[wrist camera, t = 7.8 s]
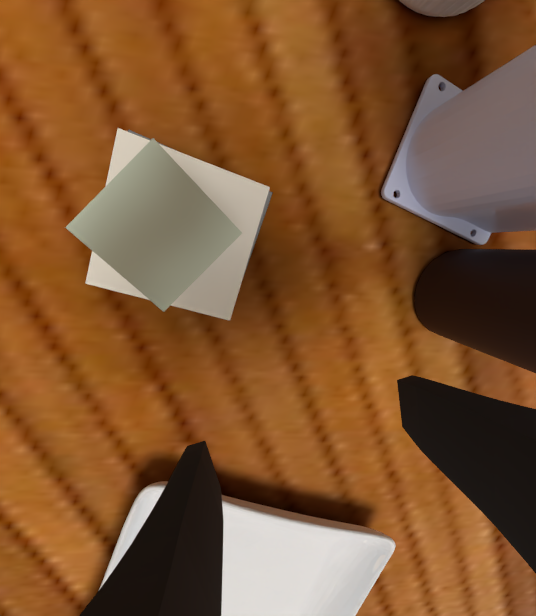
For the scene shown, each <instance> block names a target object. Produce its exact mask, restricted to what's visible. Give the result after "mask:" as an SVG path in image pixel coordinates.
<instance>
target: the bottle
mask: <svg viewBox="0 0 536 616" xmlns="http://www.w3.org/2000/svg"><path fill="white" fill-rule="evenodd" d="M415 310H416V312H417V315H418V317H419V320H420V321H421V322H422V323H423V324H424V326H425V327H426V328H427V329H428V330H430V331H432V332H434V333H436V334H438V335H440V336H443V337H446V338H448V339H451V340H453V341H456V342H458V343H461V344H463V345H466V346H468V347H471V348H473V349H476V350H478V351H481V352H483V353H486V354H488V355H491V356H494V357H496V358H499V359H501V360H504V361H506V362H509V363H511V364H514V365H516V366H519V367H521V368H524V369H526V370H529V371H531V372H534V373H536V250H505V249H459V250H455V251H450V252H446V253H444V254H443V255H441V256H439V257H438V258H436V259H434V260H433V261H432V262H431V263H430V264H429V266H428V267H427V268H426V269H425V270H424V272H423V274H422V275H421V277H420V279H419V281H418V283H417V288H416V292H415Z"/></svg>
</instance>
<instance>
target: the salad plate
mask: <svg viewBox="0 0 536 616" xmlns="http://www.w3.org/2000/svg"><path fill="white" fill-rule="evenodd" d="M167 483H168V481H161V482H156V483H153V484H150V485H148V486H147V487H145V488H144V489H143V490H142V491H141V492H140V493H139V494H138V496H137V498H136V499H135V501H134V503H133V505H132V507H131V510H130V512H129V514H128V516H127V518H126V521H125V523H124V526H123V528H122V531H121V534H120V536H119V539H118V541H117V544H116V547H115V549H114V552H113V555H112V557H111V560H110V563H109V565H108V568H107V571H106V573H105V576H104V578H103V581H102V584H101V586H100V588H101V587H102V586H103V584H104V583H105V581H106V580H107V579H108V577H109V576H110V574H111V573H112V572H113V570H114V569H115V567H116V566H117V565H118V563H119V562H120V560H121V559H122V557H123V556H124V554H125V553H126V551H127V550H128V548H129V547H130V545H131V544H132V542H133V540H134V539H135V537H136V536H137V534H138V532H139V531H140V529H141V527H142V526H143V524H144V523H145V521H146V519H147V518H148V516H149V514H150V513H151V511H152V509H153V508H154V506H155V504H156V502H157V501H158V499H159V497H160V495H161V494H162V492H163V490H164V488H165V486H166V485H167ZM222 507H223V521H224V523H223V569H222V608H221V616H355V615H356V613H357V612H358V610H359V608H360V607H361V605H362V603H363V602H364V600H365V599H366V597H367V595H368V594H369V592H370V590H371V588H372V587H373V585H374V584H375V582H376V580H377V578H378V577H379V575H380V573H381V572H382V570H383V568H384V567H385V565H386V563H387V562H388V560H389V558H390V557H391V555H392V553H393V551H394V549H395V546H396V545H395V542H394V541H393V540H392V539H391V538H390V537H389V536H387V535H385V534H383V533H381V532H379V531H376V530H374V529H371V528H367V527H363V526H359V525H354V524H349V523H343V522H338V521H332V520H327V519H322V518H317V517H312V516H307V515H303V514H298V513H294V512H290V511H285V510H281V509H277V508H272V507H268V506H264V505H260V504H256V503H252V502H248V501H244V500H240V499H236V498H232V497H228V496H224V495H222ZM100 588H99V590H100Z"/></svg>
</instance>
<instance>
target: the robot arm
mask: <svg viewBox="0 0 536 616" xmlns="http://www.w3.org/2000/svg"><path fill="white" fill-rule="evenodd" d="M438 86H440V88H441V91H440V90H439V88H438ZM394 191H395V192H396V194H397V196H396V198H395V197H394V196H393V193H394ZM381 195H382V197H383V198H384V199H385V200H387V201H389V202H391V203H393V204H395V205H397V206H399V207H401V208H403V209H405V210H407V211H409V212H411V213H413V214H415V215H418V216H420V217H422V218H424V219H426V220H428V221H430V222H432V223H434V224H436V225H438V226H440V227H442V228H444V229H446V230H448V231H450V232H452V233H454V234H456V235H458V236H460V237H462V238H464V239H466V240H468V241H470V242H472V243H474V244H477V245H483V244H485V243H486V242H487V241H488V239H489V237H490V235H491V233H494V232H513V231H532V230H536V45H535V46H533V47H532V48H530V49H528V50H527V51H525V52H524V53H522V54H520V55H519V56H517V57H516V58H514V59H513V60H511V61H509V62H508V63H506V64H505V65H503V66H502V67H500V68H498V69H497V70H495V71H494V72H492V73H491V74H489V75H487V76H486V77H484V78H483V79H481V80H480V81H478V82H476V83H475V84H473V85H472V86H470V87H469V88H467V89H465V90H464V91H462V90H461V89H459V88H458V87H456V86H455V85H453V84H452V83H450V82H449V81H447V80H446V79H444V78H443V77H441V76H440V75H438V74H433V75H432V76H431V77H429V78H428V79H427V81H426V83H425V85H424V88H423V90H422V92H421V95H420V97H419V100H418V102H417V105H416V107H415V109H414V112H413V114H412V117H411V119H410V122H409V124H408V126H407V129H406V131H405V134H404V136H403V139H402V141H401V143H400V146H399V148H398V151H397V153H396V156H395V158H394V160H393V163H392V165H391V168H390V170H389V173H388V175H387V177H386V180H385V182H384V185H383V187H382V190H381ZM471 231H472V234H470V233H471ZM397 383H398V392H399V401H400V409H401V418H402V427H403V428H404V429H405V431H406V432H407V433H408V435H409V436H410V437H411V438H412V440H413V441H414V442H415V443H416V445H417V446H418V447H419V448H420V450H421V451H422V452H423V453H424V454H425V455H426V456H427V457H428V458H429V459H430V460H431V461H432V462H433V463H434V464H435V465H436V466H437V467H438V468H439V469H440V470H441V471H442V472H443V473H444V474H445V475H446V476H447V477H448V478H449V479H450V480H451V481H452V482H453V483H454V484H455V485H456V486H457V487H458V488H459V489H460V490H461V491H462V492H463V493H464V494H465V495H466V496H467V497H468V498H469V499H470V500H471V501H472V502H473V503H474V504H475V505H476V506H477V507H478V508H479V509H480V510H481V511H482V512H483V513H484V514H485V515H486V517H487V518H488V519H489V520H490V521H491V522H492V523H493V524H494V525H495V526H496V527H497V528H498V530H499V531H500V532H501V533H502V534H503V535H504V537H505V538H506V539H507V540H508V541H509V542H510V544H511V545H512V546H513V547H514V548H515V549H516V550H517V552H518V553H519V554H520V555H521V556H522V557H523V559H524V560H525V561H526V562H527V563H528V565H529V566H530V567H531V568H532V569H533V571H534V572H535V573H536V409H532V408H528V407H524V406H520V405H516V404H512V403H508V402H504V401H500V400H496V399H493V398H489V397H486V396H482V395H479V394H475V393H472V392H468V391H465V390H462V389H458V388H455V387H452V386H448V385H445V384H442V383H438V382H435V381H432V380H428V379H425V378H421V377H417V376H409V377H406V378H402V379H399V380H397ZM223 523H224V521H223V507H222V495H221V487H220V484H219V481H218V478H217V475H216V472H215V469H214V466H213V463H212V460H211V457H210V454H209V451H208V448H207V445H206V442H205V441H202V442H199V443H196V444H193V445H190V446H187V448H186V449H185V451H184V453H183V455H182V456H181V458H180V460H179V462H178V464H177V466H176V468H175V470H174V472H173V474H172V475H171V477H170V479H169V481H168V483H167V485H166V486H165V488H164V490H163V492H162V494H161V495H160V497H159V499H158V501H157V502H156V504H155V506H154V508H153V509H152V511H151V513H150V514H149V516H148V518H147V519H146V521H145V523H144V524H143V526H142V527H141V529H140V531H139V532H138V534H137V536H136V537H135V539H134V540H133V542H132V544H131V545H130V547H129V548H128V550H127V551H126V553H125V554H124V556H123V557H122V559H121V560H120V562H119V563H118V565H117V566H116V567H115V569H114V570H113V572H112V573H111V574H110V576H109V577H108V579H107V580H106V581H105V583H104V584H103V586H102V587H101V588H100V590H99V591H98V592H97V594H96V595H95V596H94V598H93V599H92V600H91V602H90V603H89V604H88V605H87V607H86V608H85V609H84V611H83V612H82V613H81V614H80V616H221V608H222V569H223Z"/></svg>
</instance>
